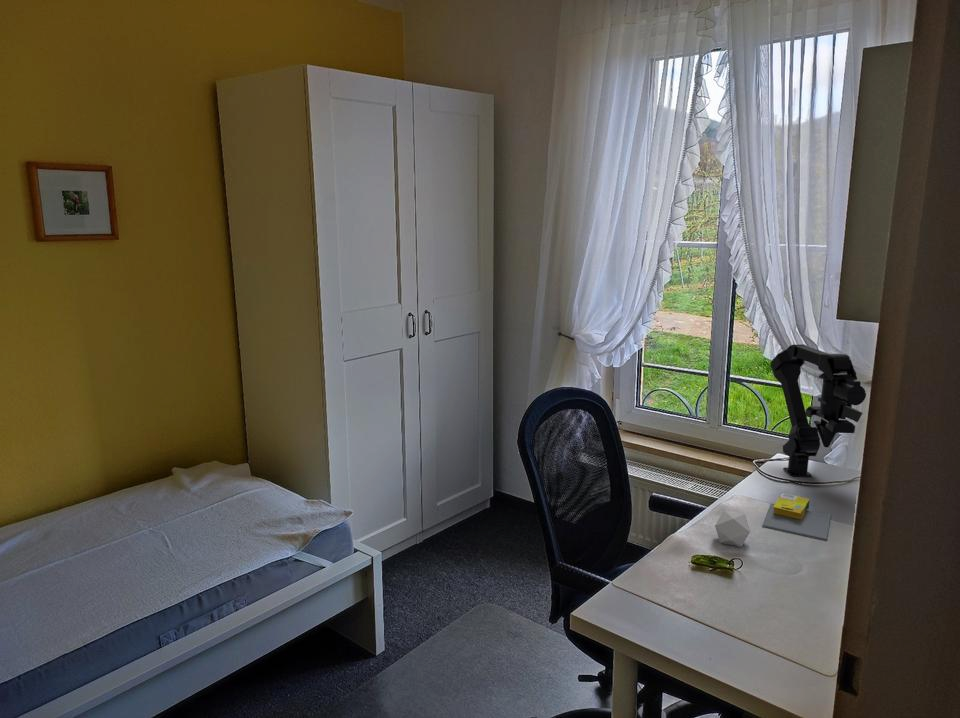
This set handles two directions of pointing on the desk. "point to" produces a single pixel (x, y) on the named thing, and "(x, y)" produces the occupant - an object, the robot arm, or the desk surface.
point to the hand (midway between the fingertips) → (826, 447)
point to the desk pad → (799, 524)
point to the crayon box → (791, 506)
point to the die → (732, 528)
